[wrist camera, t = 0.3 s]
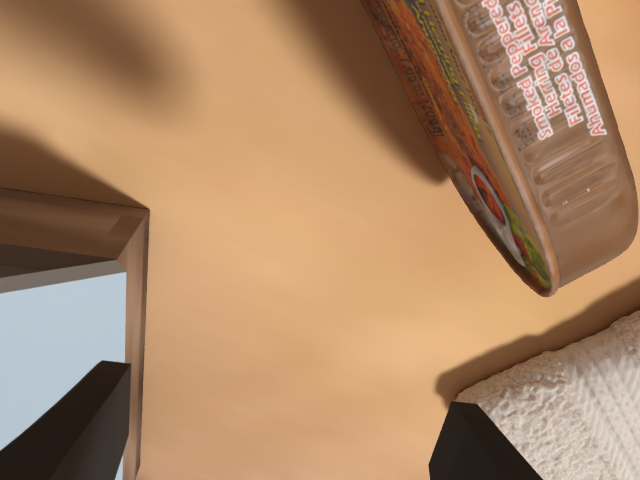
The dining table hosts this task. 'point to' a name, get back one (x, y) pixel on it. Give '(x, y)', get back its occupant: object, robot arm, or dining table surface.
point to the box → (81, 249)
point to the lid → (56, 337)
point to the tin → (518, 127)
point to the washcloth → (573, 406)
